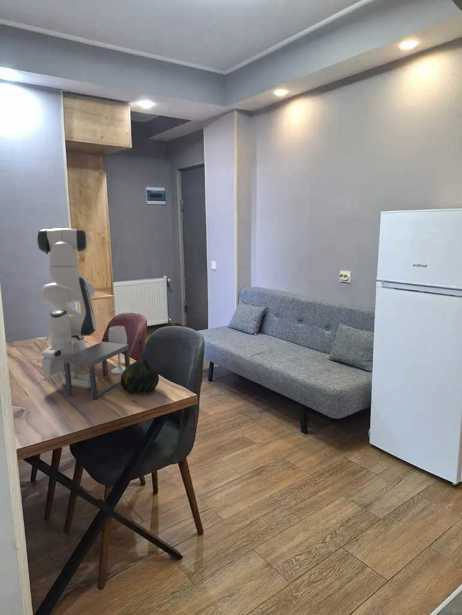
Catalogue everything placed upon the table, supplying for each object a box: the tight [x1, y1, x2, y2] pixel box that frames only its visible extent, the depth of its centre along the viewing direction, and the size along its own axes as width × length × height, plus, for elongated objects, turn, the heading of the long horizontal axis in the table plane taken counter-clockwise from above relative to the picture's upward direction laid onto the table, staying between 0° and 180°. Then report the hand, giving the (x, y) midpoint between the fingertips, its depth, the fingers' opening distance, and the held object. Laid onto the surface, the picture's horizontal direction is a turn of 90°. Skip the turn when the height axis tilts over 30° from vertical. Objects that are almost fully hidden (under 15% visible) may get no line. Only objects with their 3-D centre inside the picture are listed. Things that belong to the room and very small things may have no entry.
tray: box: [61, 370, 99, 390], centre depth 181 cm, size 14×6×5 cm, turn 67°
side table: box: [63, 341, 131, 401], centre depth 176 cm, size 14×24×16 cm, turn 158°
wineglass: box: [108, 325, 128, 375], centre depth 194 cm, size 9×9×21 cm
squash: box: [120, 358, 160, 395], centre depth 171 cm, size 14×15×15 cm
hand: (65, 378), depth 184 cm, fingers closed, pressing on tray
